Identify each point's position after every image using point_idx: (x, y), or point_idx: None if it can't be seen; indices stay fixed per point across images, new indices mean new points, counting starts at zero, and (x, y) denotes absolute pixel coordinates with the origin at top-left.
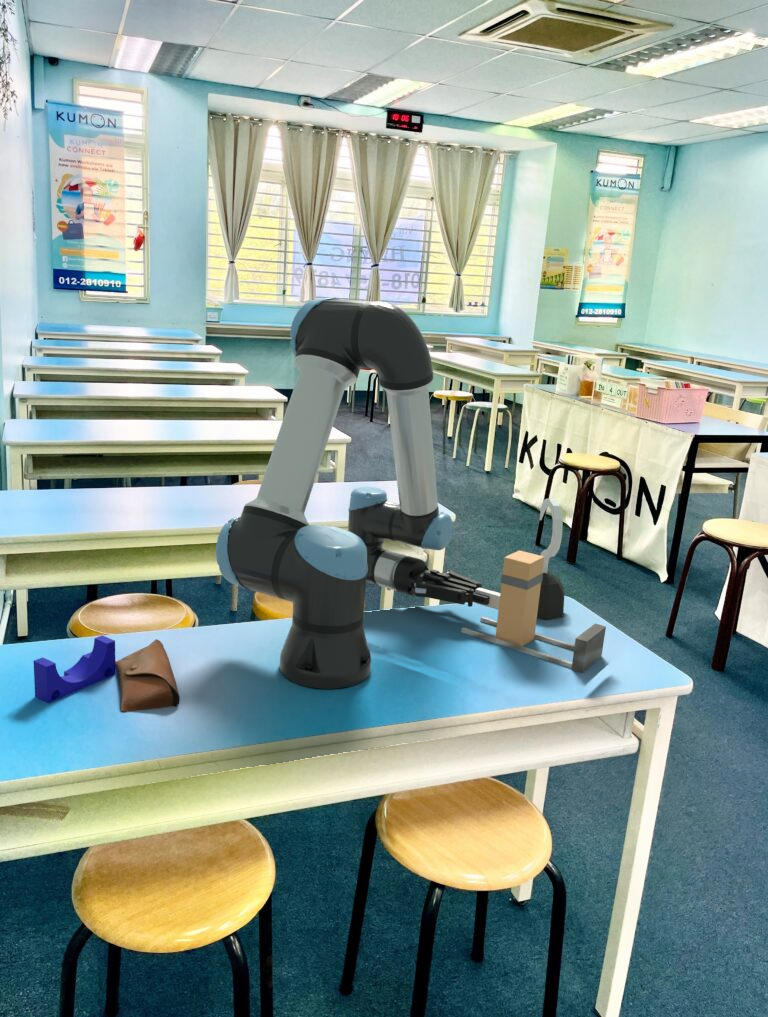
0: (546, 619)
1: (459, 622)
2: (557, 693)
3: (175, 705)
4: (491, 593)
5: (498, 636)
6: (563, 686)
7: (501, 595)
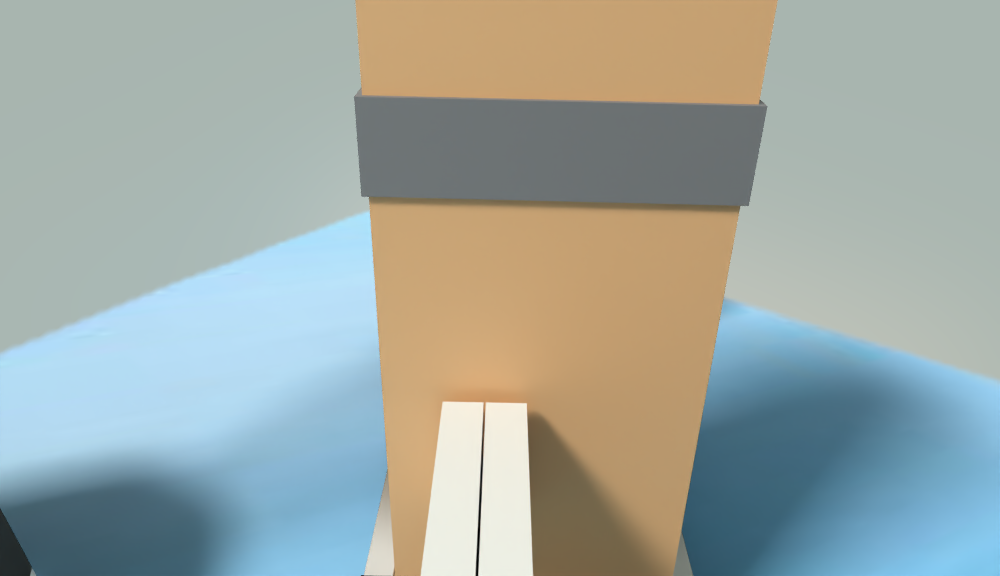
0: (17, 541)
1: None
2: (792, 344)
3: None
4: (520, 534)
5: None
6: (722, 346)
7: (712, 323)
